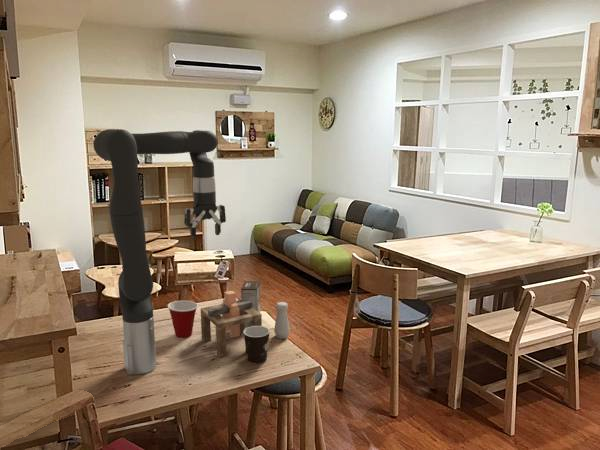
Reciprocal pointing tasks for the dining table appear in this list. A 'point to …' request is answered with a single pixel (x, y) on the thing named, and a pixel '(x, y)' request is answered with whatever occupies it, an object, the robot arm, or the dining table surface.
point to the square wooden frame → (226, 322)
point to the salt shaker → (281, 321)
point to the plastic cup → (183, 317)
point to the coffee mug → (256, 343)
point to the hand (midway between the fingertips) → (205, 236)
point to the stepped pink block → (231, 312)
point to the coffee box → (251, 296)
